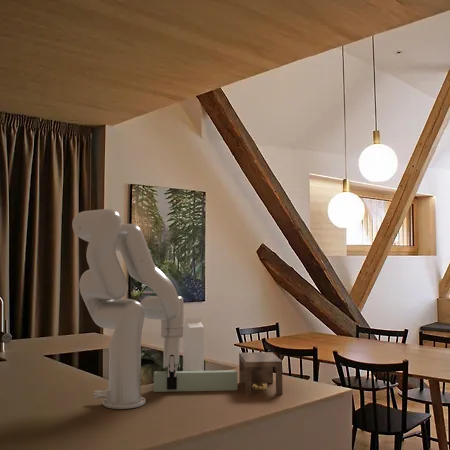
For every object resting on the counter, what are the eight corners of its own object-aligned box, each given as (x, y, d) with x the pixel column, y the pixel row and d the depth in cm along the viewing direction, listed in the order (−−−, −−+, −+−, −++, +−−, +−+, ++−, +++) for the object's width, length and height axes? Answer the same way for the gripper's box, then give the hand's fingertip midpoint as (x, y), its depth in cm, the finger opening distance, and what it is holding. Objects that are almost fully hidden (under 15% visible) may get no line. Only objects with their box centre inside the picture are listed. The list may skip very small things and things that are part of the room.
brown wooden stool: (245, 395, 170) (245, 362, 171) (239, 382, 188) (239, 352, 189) (282, 394, 171) (282, 361, 172) (272, 382, 189) (272, 352, 190)
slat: (153, 391, 175) (153, 373, 175) (153, 389, 178) (154, 371, 178) (237, 390, 177) (237, 371, 178) (236, 388, 180) (236, 370, 181)
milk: (182, 376, 199) (182, 317, 200) (197, 375, 202) (197, 316, 203) (189, 379, 193) (189, 319, 195) (204, 378, 196) (204, 318, 198)
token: (253, 391, 177) (253, 385, 177) (251, 387, 182) (251, 382, 182) (268, 390, 177) (268, 385, 177) (265, 387, 182) (265, 382, 182)
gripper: (161, 329, 186) (161, 382, 185) (160, 336, 170) (159, 394, 168) (183, 329, 187) (182, 382, 185) (183, 335, 171) (183, 393, 169)
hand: (171, 387), depth 177 cm, fingers closed on slat, 3 cm apart
